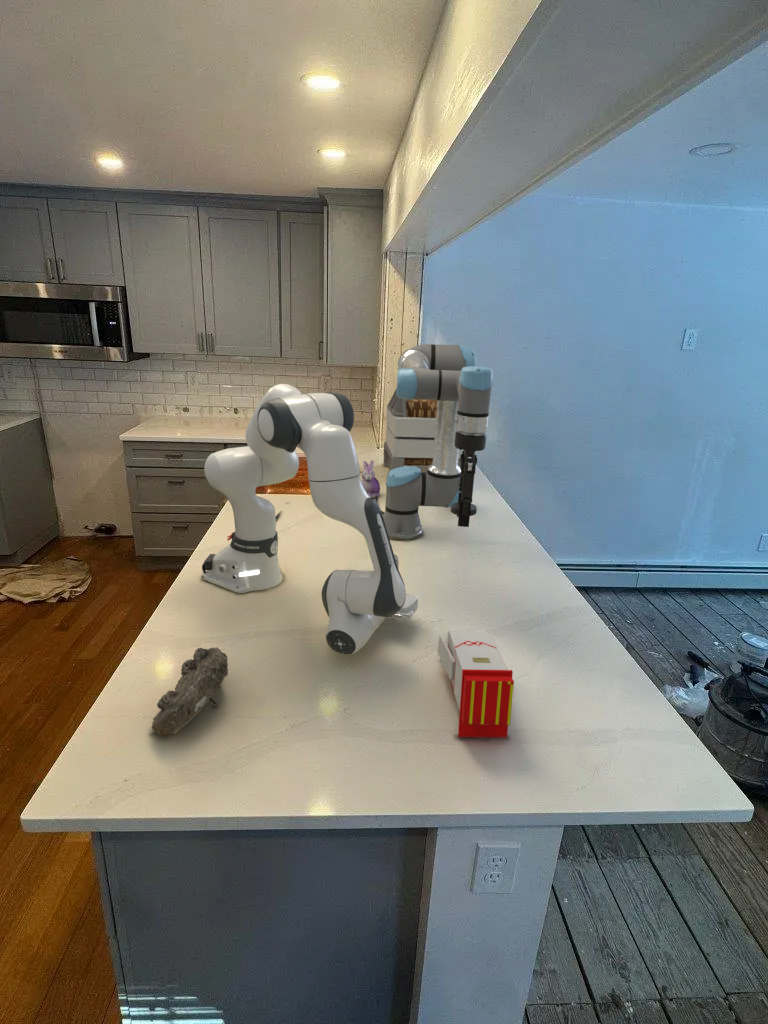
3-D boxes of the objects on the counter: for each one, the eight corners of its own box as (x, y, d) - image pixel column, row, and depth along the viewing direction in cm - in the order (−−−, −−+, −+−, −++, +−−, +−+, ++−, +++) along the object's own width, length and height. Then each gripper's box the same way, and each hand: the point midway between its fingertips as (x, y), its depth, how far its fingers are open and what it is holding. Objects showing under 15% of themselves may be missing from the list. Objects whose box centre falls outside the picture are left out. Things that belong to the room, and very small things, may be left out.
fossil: (179, 649, 121) (229, 617, 116) (211, 678, 124) (260, 649, 119) (128, 729, 101) (185, 695, 96) (167, 762, 104) (224, 731, 99)
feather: (288, 505, 226) (290, 501, 226) (271, 529, 199) (273, 524, 199) (284, 503, 226) (287, 499, 225) (266, 526, 199) (269, 522, 199)
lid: (479, 510, 146) (480, 504, 145) (472, 518, 140) (472, 512, 140) (455, 506, 148) (455, 500, 148) (447, 513, 143) (447, 507, 142)
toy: (488, 613, 130) (523, 677, 101) (484, 667, 133) (517, 744, 104) (435, 612, 130) (455, 676, 101) (432, 666, 133) (451, 743, 103)
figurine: (365, 500, 232) (366, 464, 227) (354, 493, 241) (355, 458, 236) (385, 497, 237) (387, 463, 231) (374, 490, 245) (375, 457, 240)
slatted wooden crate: (382, 463, 289) (386, 382, 275) (445, 464, 293) (451, 384, 279) (390, 482, 257) (394, 392, 243) (460, 483, 261) (468, 394, 247)
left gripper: (409, 607, 132) (426, 583, 144) (330, 590, 138) (352, 568, 151) (407, 631, 134) (424, 605, 146) (329, 612, 141) (352, 589, 153)
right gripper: (454, 424, 147) (447, 507, 155) (456, 440, 129) (448, 534, 136) (483, 425, 146) (474, 509, 154) (490, 442, 128) (480, 536, 136)
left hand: (387, 586), depth 149 cm, fingers closed on jar, 5 cm apart
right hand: (462, 521), depth 145 cm, fingers closed on lid, 6 cm apart
